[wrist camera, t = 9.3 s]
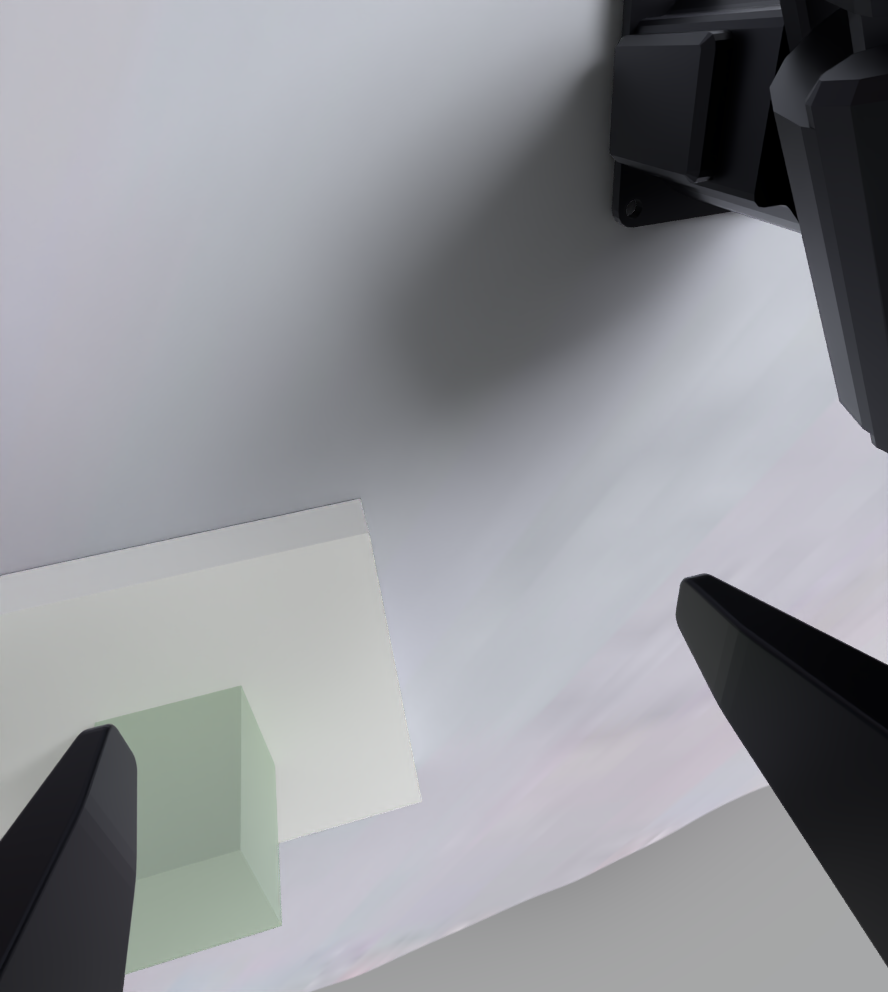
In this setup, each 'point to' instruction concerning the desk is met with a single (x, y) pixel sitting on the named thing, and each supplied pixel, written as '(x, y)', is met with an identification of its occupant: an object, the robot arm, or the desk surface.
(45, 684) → the base plate
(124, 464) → the desk surface
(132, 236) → the desk surface
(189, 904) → the sage block
